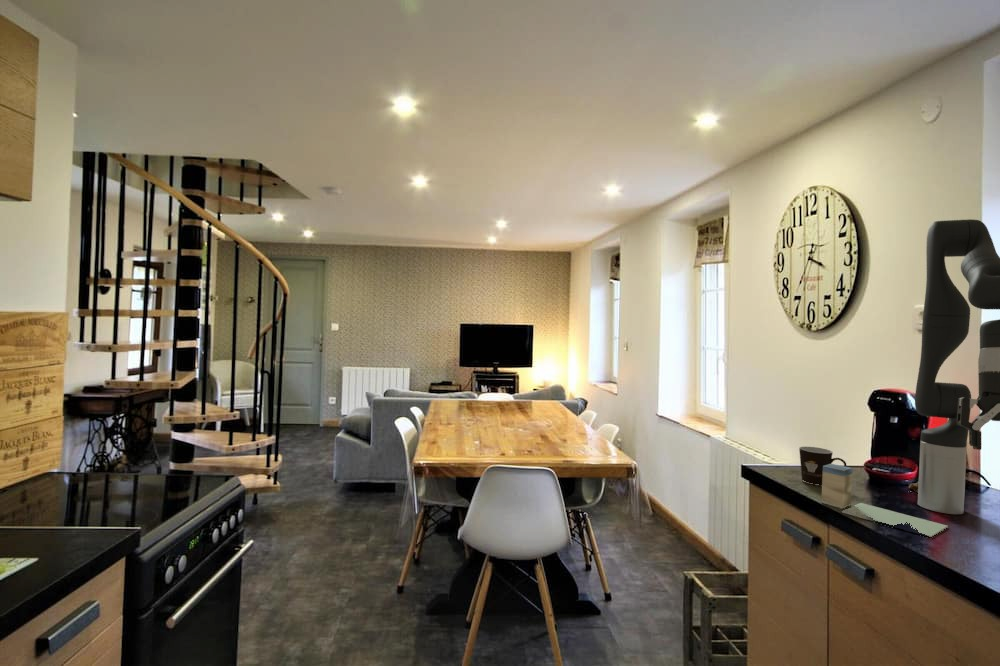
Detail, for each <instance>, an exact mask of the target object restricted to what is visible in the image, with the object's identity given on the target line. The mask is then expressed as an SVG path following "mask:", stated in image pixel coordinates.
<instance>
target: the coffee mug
mask: <svg viewBox="0 0 1000 666" xmlns="http://www.w3.org/2000/svg"><path fill="white" fill-rule="evenodd" d="M798 449H799V450H798V451H799V460H800V471H801V472H800V473H801V481H802V480H804V481H806V482H809V483H813V484H819V485H822V475H823V466H825V465H828V464H833V462H835V461H837V460H838V461H840V462H842V464H843V466H845V467H848V466H847V462H846V460H844V459H842V458H840V457H834V458H833V457H832V456H833V451H832V450H830V449H827V448H823V447H818V446H817V447H815V446H799V448H798Z"/></svg>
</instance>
